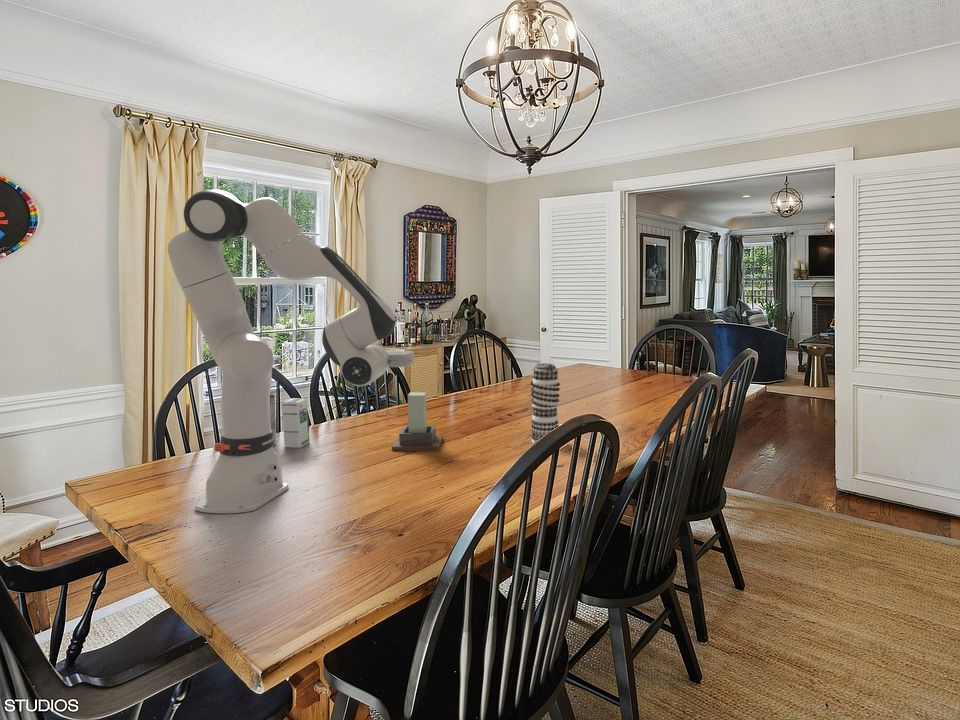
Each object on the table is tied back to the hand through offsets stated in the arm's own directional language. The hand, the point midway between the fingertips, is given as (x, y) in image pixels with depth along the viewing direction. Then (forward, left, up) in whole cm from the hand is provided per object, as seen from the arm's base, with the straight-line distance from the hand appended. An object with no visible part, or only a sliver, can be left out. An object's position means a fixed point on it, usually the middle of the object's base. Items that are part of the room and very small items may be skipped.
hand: (382, 354), depth 165 cm
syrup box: (+10, +30, -30) cm, 44 cm away
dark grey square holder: (+12, -8, -30) cm, 33 cm away
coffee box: (+10, +42, -30) cm, 53 cm away
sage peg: (+12, -8, -29) cm, 32 cm away
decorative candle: (+16, -48, -30) cm, 59 cm away
